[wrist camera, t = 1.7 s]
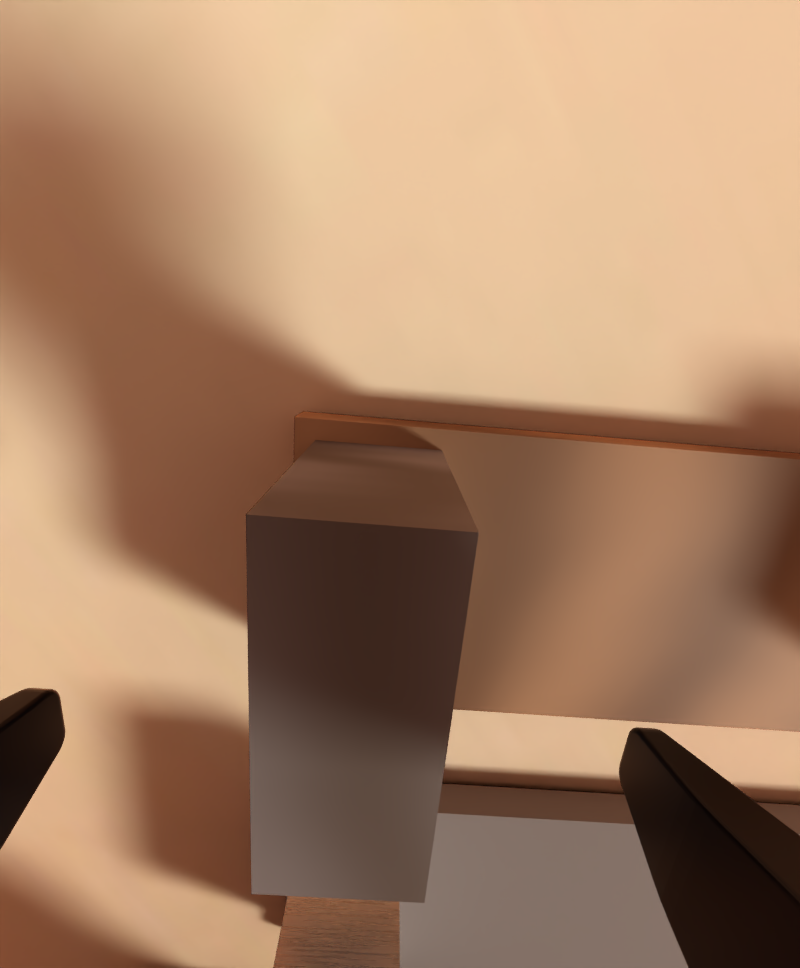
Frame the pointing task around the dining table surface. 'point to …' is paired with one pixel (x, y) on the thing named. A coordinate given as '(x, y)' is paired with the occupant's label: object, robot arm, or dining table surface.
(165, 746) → the dining table surface
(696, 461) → the walnut strip
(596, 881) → the grey piece
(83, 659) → the dining table surface
